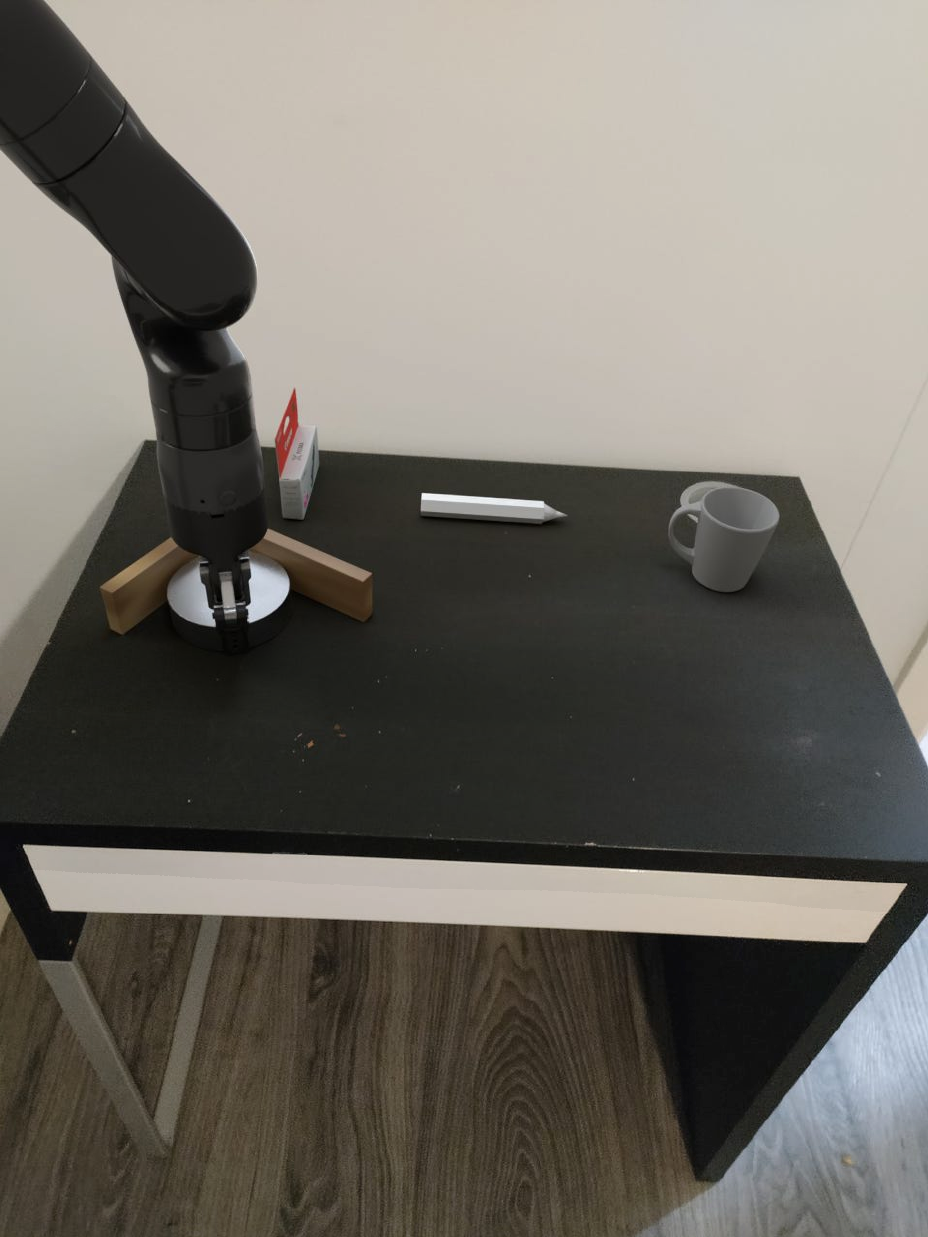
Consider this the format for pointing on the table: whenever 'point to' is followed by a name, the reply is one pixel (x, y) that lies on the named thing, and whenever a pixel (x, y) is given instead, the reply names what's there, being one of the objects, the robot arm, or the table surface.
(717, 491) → the cup
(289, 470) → the ink box
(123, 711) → the table surface
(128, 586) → the corner fence
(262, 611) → the white-topped round disc
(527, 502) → the white pencil
